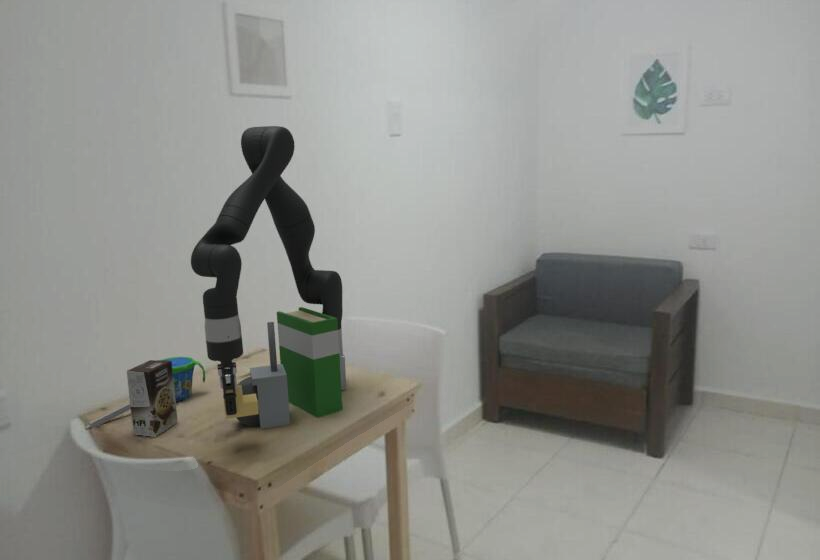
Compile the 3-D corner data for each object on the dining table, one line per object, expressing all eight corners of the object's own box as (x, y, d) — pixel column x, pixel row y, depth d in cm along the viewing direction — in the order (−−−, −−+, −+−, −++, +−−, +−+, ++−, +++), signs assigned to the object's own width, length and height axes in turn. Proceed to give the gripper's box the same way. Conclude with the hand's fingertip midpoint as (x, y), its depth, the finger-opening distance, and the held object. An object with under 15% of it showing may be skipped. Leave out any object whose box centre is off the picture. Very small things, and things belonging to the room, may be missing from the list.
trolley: (286, 411, 169) (279, 317, 164) (290, 424, 160) (283, 325, 156) (233, 418, 165) (224, 322, 161) (234, 432, 157) (225, 331, 152)
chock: (256, 405, 151) (254, 382, 150) (258, 414, 147) (256, 390, 145) (225, 410, 149) (222, 387, 148) (225, 419, 145) (223, 395, 143)
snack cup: (207, 387, 189) (204, 353, 187) (206, 400, 179) (203, 364, 177) (149, 395, 184) (145, 359, 183) (145, 408, 174) (140, 371, 173)
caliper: (162, 404, 177) (160, 382, 176) (164, 405, 177) (162, 383, 176) (84, 429, 163) (81, 405, 161) (86, 430, 162) (83, 406, 161)
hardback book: (283, 399, 178) (276, 311, 173) (307, 392, 182) (301, 307, 178) (317, 417, 164) (311, 323, 160) (342, 410, 169) (337, 318, 164)
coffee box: (156, 438, 155) (148, 372, 152) (132, 435, 157) (124, 370, 154) (179, 422, 164) (172, 360, 161) (156, 420, 166) (149, 358, 163)
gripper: (243, 342, 138) (250, 419, 141) (239, 325, 151) (246, 395, 155) (205, 347, 136) (214, 424, 139) (205, 329, 149) (213, 400, 153)
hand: (231, 409), depth 147 cm, fingers closed on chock, 5 cm apart
